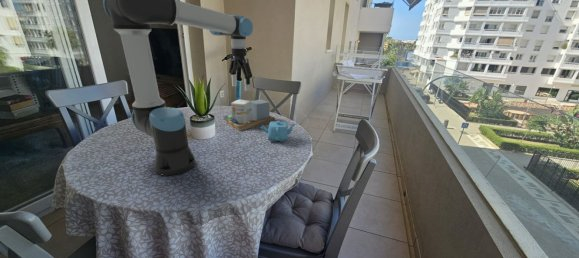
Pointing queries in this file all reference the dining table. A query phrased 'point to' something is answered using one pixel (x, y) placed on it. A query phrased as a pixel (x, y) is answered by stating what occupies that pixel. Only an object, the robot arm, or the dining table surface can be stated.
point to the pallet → (252, 123)
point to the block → (259, 109)
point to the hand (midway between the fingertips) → (240, 88)
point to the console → (226, 118)
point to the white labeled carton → (241, 111)
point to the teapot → (278, 131)
